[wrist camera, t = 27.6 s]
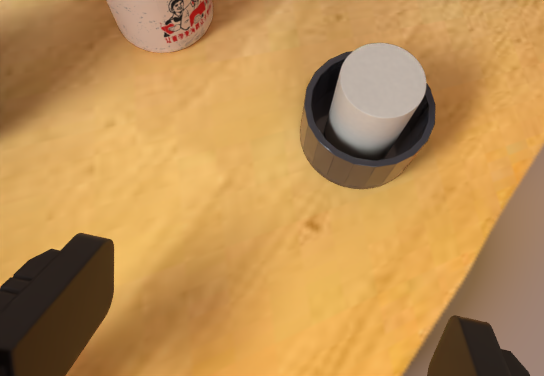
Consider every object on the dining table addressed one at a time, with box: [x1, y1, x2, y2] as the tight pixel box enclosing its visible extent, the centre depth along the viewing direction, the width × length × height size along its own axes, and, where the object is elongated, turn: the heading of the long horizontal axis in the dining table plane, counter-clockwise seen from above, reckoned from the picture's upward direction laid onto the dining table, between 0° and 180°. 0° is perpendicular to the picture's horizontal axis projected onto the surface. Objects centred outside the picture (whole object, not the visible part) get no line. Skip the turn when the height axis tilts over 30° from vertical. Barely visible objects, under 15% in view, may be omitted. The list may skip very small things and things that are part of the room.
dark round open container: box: [300, 51, 435, 189], centre depth 36 cm, size 9×9×5 cm
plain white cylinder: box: [325, 43, 426, 161], centre depth 34 cm, size 6×6×8 cm
